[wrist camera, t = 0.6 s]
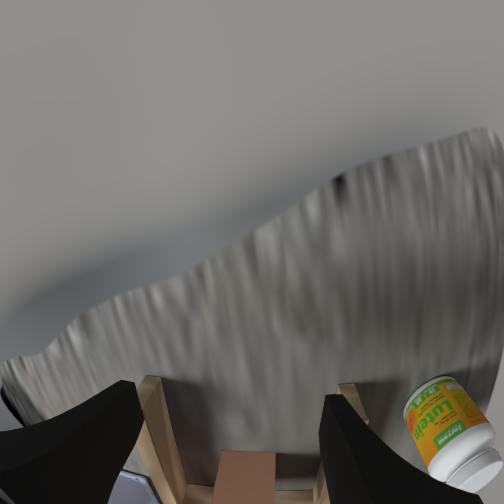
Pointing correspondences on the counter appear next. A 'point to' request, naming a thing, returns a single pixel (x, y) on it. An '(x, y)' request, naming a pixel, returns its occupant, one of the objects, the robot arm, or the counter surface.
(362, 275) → the counter surface
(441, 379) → the supplement bottle
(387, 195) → the counter surface
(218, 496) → the block
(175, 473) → the wooden u-shaped frame
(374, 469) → the robot arm
